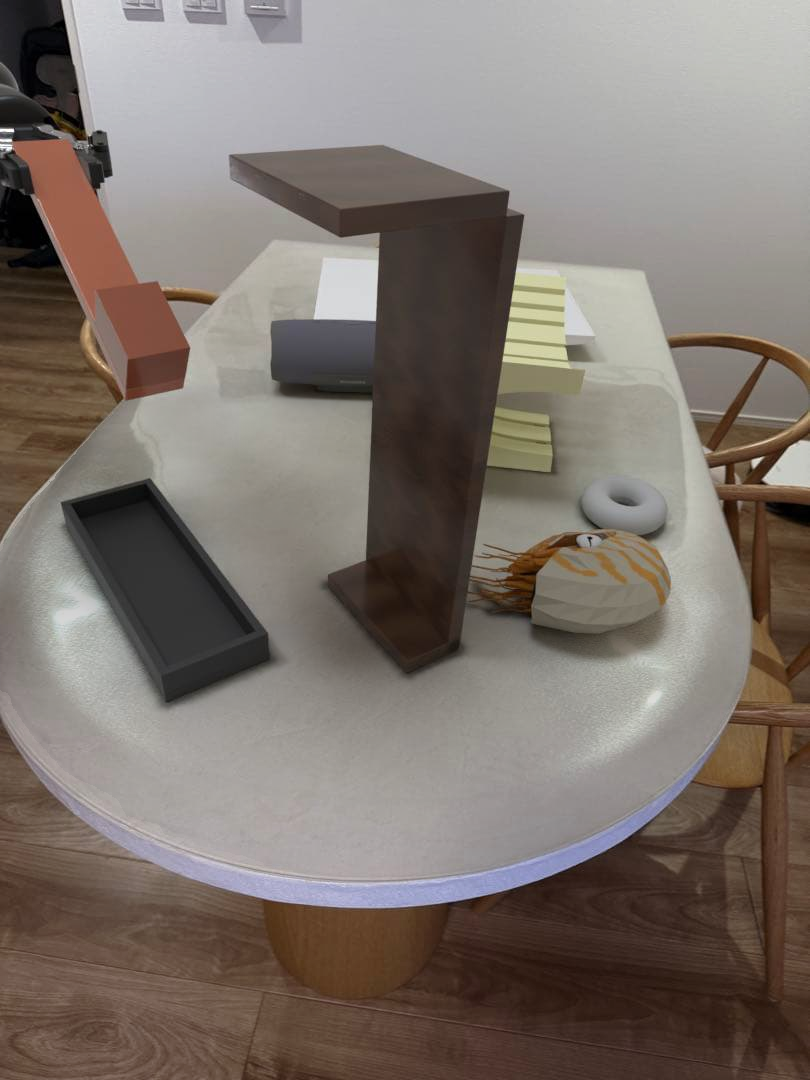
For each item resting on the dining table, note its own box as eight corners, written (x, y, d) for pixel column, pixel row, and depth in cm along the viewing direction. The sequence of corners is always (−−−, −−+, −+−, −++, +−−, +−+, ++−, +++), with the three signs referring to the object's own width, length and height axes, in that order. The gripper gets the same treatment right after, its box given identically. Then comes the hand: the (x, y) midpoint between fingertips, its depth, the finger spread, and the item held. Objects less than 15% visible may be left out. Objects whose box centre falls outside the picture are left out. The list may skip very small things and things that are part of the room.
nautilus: (439, 640, 73) (457, 552, 85) (673, 668, 70) (656, 572, 82) (443, 573, 68) (461, 490, 81) (692, 600, 65) (671, 509, 78)
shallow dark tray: (66, 526, 82) (60, 502, 80) (154, 501, 87) (150, 477, 85) (166, 702, 64) (161, 676, 62) (269, 658, 69) (268, 633, 67)
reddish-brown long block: (12, 156, 61) (6, 100, 57) (69, 153, 63) (67, 99, 59) (125, 401, 55) (127, 359, 51) (183, 388, 57) (190, 347, 53)
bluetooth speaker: (425, 375, 118) (430, 312, 112) (431, 403, 110) (437, 337, 104) (275, 371, 115) (273, 306, 109) (271, 399, 108) (268, 332, 102)
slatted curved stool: (437, 385, 115) (449, 266, 104) (543, 396, 114) (565, 277, 104) (420, 495, 91) (433, 354, 80) (554, 509, 91) (585, 370, 80)
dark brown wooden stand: (259, 611, 74) (228, 154, 49) (377, 566, 80) (400, 143, 56) (334, 708, 65) (340, 209, 40) (459, 648, 71) (528, 188, 47)
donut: (580, 487, 95) (575, 531, 87) (585, 463, 93) (581, 506, 85) (662, 502, 94) (665, 548, 86) (669, 478, 92) (673, 523, 84)
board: (313, 350, 122) (312, 322, 119) (323, 282, 148) (323, 257, 145) (589, 363, 125) (595, 336, 122) (552, 294, 151) (557, 270, 148)
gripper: (-96, 87, 64) (-56, 127, 53) (79, 85, 71) (146, 119, 60) (-68, 184, 68) (-26, 238, 58) (94, 172, 75) (158, 219, 65)
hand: (61, 177), depth 59 cm, fingers closed on reddish-brown long block, 4 cm apart
